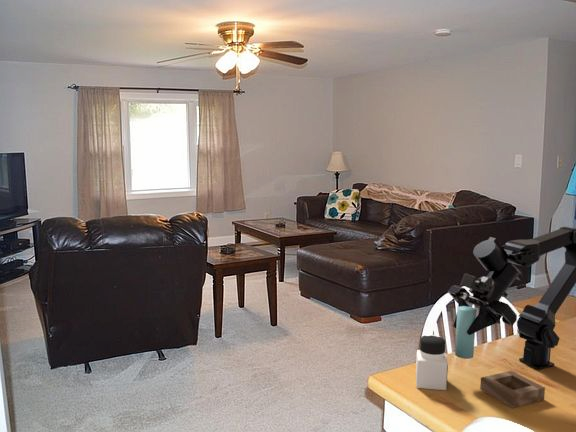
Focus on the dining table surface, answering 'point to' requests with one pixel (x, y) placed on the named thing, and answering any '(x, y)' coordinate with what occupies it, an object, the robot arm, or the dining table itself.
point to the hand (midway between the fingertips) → (461, 330)
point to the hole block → (513, 398)
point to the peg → (464, 332)
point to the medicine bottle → (431, 363)
